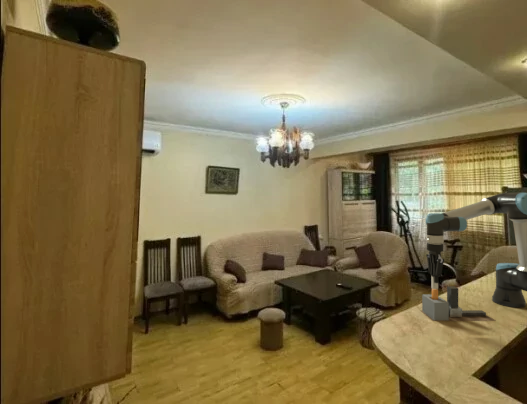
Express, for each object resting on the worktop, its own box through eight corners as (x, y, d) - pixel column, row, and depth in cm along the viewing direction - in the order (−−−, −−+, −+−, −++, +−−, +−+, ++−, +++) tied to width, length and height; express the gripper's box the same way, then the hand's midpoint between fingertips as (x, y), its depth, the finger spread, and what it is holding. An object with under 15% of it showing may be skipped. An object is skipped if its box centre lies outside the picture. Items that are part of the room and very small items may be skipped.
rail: (481, 314, 156) (481, 310, 156) (486, 316, 153) (486, 312, 153) (440, 314, 156) (440, 310, 156) (443, 316, 153) (443, 312, 153)
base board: (478, 311, 161) (478, 310, 161) (496, 322, 148) (496, 320, 148) (419, 312, 161) (419, 310, 161) (432, 322, 148) (432, 320, 148)
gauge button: (436, 303, 156) (436, 288, 156) (439, 306, 153) (439, 290, 153) (430, 303, 156) (430, 288, 156) (433, 306, 153) (433, 290, 153)
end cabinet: (435, 310, 161) (435, 294, 160) (448, 320, 149) (448, 302, 148) (422, 310, 161) (422, 294, 161) (434, 320, 149) (434, 302, 149)
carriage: (454, 312, 157) (454, 285, 157) (462, 317, 151) (462, 289, 151) (443, 312, 158) (443, 285, 157) (450, 317, 152) (450, 289, 151)
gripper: (421, 241, 160) (421, 284, 161) (434, 245, 147) (434, 292, 148) (435, 241, 160) (435, 284, 161) (449, 245, 147) (449, 292, 148)
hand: (434, 288), depth 154 cm, fingers closed
